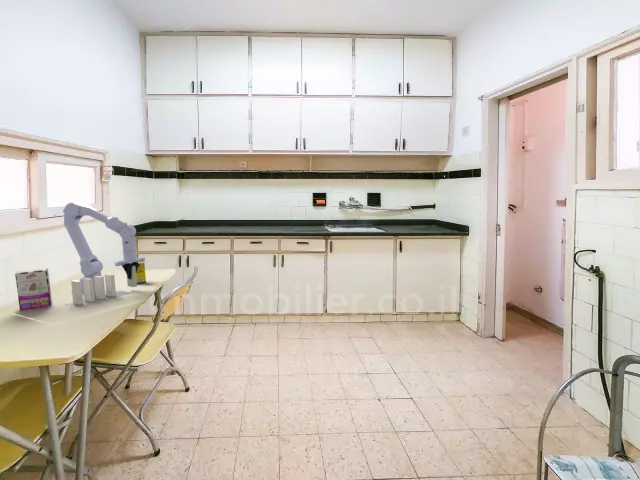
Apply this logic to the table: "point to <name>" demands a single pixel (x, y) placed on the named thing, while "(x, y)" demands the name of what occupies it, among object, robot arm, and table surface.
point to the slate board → (118, 294)
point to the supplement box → (141, 273)
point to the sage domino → (132, 281)
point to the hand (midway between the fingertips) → (131, 278)
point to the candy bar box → (33, 289)
